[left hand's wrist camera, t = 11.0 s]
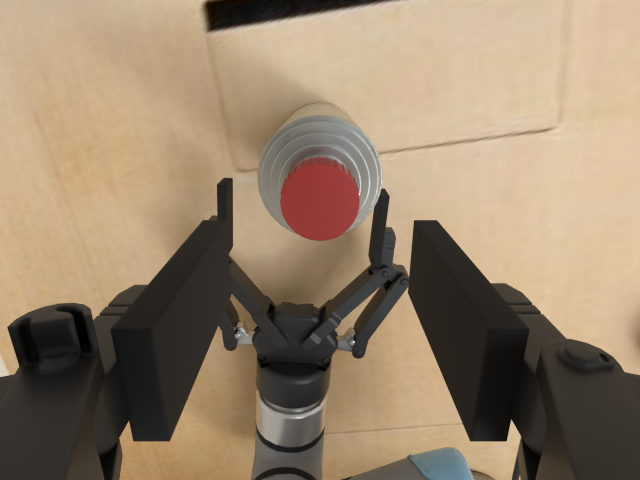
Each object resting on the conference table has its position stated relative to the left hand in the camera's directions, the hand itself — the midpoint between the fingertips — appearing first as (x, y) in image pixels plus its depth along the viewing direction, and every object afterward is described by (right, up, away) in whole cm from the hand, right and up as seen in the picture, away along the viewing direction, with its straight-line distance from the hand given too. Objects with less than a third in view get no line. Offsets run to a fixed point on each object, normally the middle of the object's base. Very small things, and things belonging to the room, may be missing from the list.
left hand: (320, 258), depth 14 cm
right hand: (-1, +5, +22) cm, 22 cm away
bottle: (0, +10, +27) cm, 29 cm away
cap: (0, +3, +7) cm, 7 cm away
